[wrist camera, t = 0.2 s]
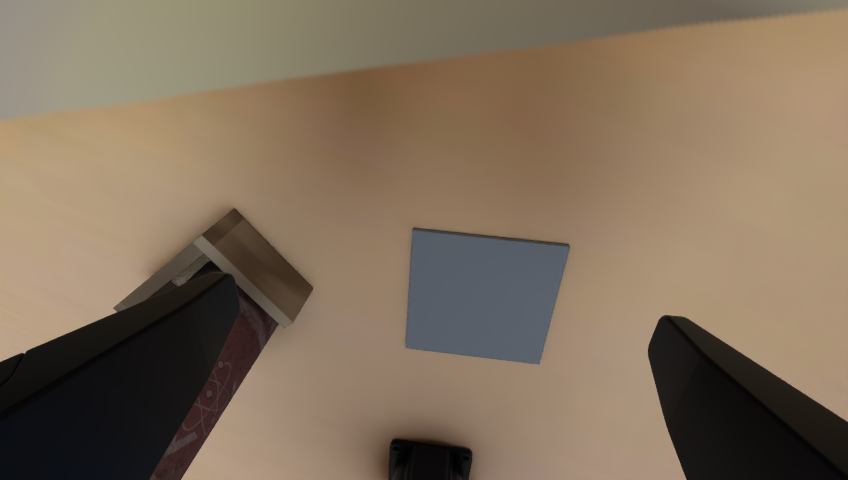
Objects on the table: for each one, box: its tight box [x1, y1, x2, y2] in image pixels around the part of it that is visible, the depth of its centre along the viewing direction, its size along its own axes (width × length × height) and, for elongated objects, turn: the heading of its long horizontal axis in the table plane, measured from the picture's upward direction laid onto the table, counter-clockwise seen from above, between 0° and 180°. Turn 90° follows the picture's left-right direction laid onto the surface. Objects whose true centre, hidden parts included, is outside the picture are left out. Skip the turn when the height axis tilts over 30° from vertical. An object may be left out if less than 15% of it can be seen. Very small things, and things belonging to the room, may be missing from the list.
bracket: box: [113, 209, 313, 328], centre depth 27 cm, size 7×9×4 cm
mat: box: [406, 228, 570, 364], centre depth 27 cm, size 9×9×1 cm
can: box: [149, 261, 279, 480], centre depth 22 cm, size 6×6×14 cm
